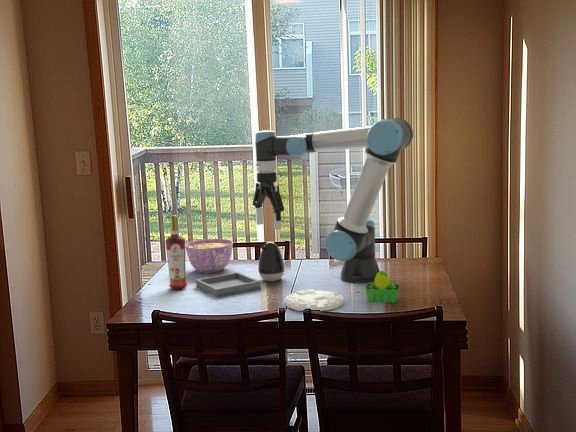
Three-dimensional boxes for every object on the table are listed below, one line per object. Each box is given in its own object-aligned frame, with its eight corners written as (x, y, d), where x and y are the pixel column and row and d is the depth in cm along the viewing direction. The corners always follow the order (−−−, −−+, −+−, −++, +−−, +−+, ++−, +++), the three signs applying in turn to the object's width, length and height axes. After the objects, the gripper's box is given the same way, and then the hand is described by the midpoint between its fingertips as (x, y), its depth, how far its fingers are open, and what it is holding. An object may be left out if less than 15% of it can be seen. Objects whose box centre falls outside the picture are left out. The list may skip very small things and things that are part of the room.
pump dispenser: (253, 280, 284) (251, 242, 281) (271, 275, 291) (269, 238, 289) (271, 284, 277) (270, 245, 274) (290, 278, 284) (288, 240, 282)
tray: (260, 288, 271) (260, 281, 271) (216, 297, 262) (216, 289, 262) (238, 279, 287) (237, 272, 286) (196, 287, 278) (195, 279, 277)
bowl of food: (228, 276, 292) (226, 248, 290) (180, 276, 295) (178, 248, 294) (239, 265, 311) (238, 238, 309) (194, 265, 315) (193, 238, 313)
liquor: (168, 291, 273) (163, 218, 268) (168, 286, 280) (163, 214, 275) (188, 290, 274) (183, 216, 269) (187, 285, 281) (183, 213, 277)
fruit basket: (400, 298, 252) (400, 266, 250) (398, 305, 244) (398, 272, 242) (367, 297, 255) (366, 265, 253) (364, 304, 246) (363, 271, 244)
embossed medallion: (350, 310, 242) (350, 302, 241) (292, 316, 238) (292, 307, 237) (334, 294, 261) (334, 286, 261) (280, 299, 257) (280, 291, 257)
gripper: (242, 170, 286) (244, 223, 289) (274, 175, 265) (276, 232, 268) (259, 168, 290) (261, 221, 293) (292, 173, 268) (294, 230, 272)
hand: (268, 226), depth 281 cm, fingers open, 13 cm apart
